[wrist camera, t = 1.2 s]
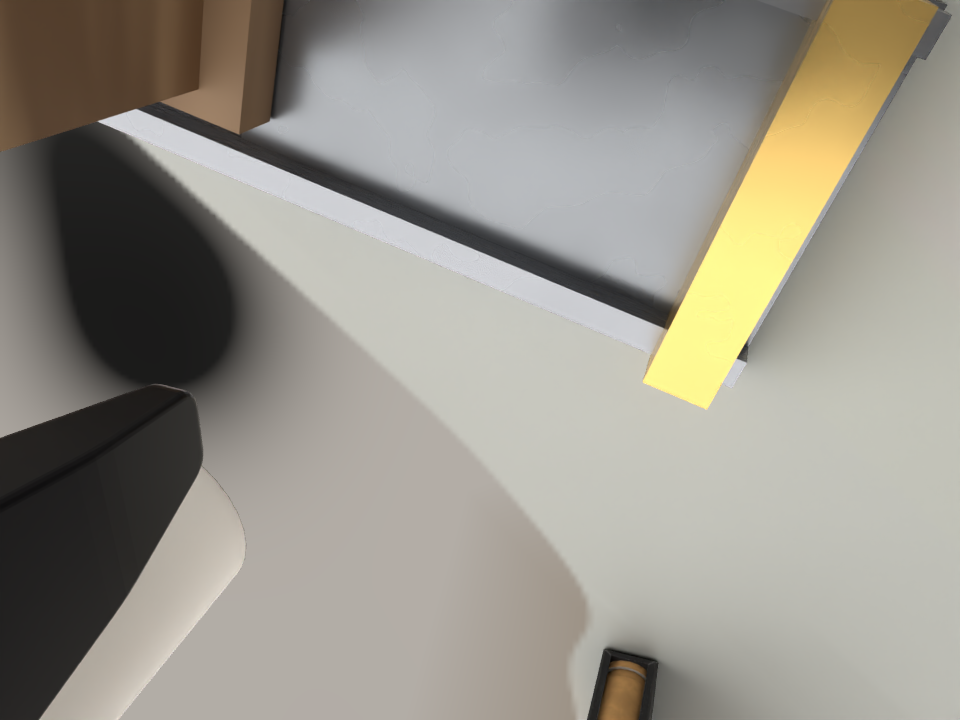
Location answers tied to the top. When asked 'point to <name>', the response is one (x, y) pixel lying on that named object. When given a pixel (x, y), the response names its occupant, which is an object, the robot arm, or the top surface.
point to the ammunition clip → (623, 688)
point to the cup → (158, 606)
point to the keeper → (134, 62)
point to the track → (580, 148)
